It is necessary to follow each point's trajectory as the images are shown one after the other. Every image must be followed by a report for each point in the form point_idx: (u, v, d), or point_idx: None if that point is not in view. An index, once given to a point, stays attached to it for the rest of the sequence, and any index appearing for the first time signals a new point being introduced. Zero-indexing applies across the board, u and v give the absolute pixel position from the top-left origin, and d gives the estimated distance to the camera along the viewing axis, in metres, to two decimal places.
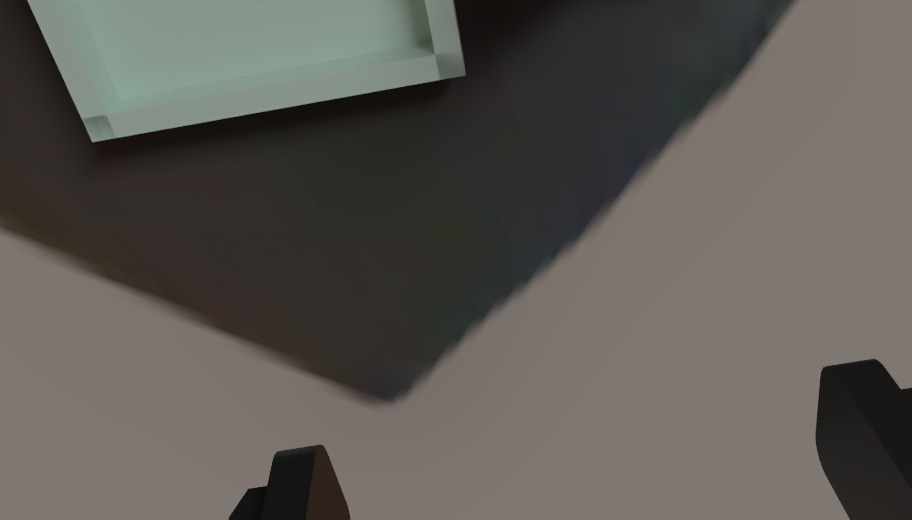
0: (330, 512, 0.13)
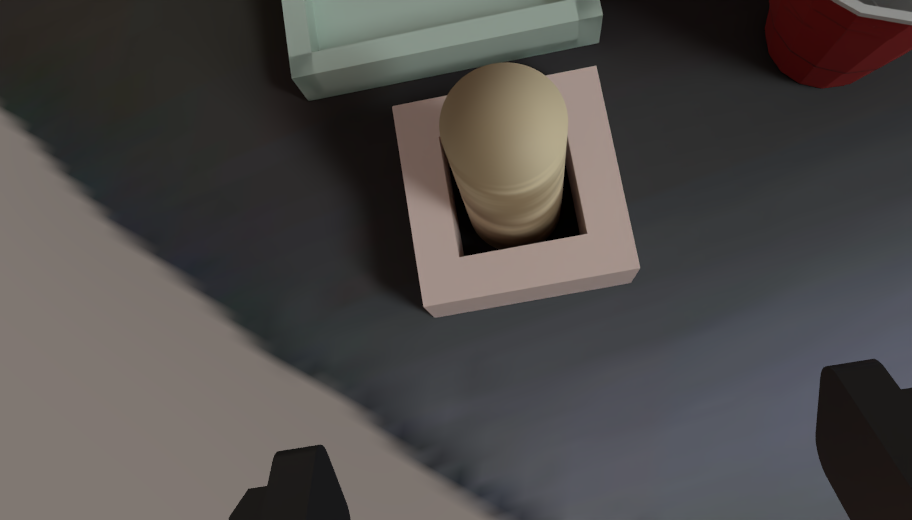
0: (330, 512, 0.13)
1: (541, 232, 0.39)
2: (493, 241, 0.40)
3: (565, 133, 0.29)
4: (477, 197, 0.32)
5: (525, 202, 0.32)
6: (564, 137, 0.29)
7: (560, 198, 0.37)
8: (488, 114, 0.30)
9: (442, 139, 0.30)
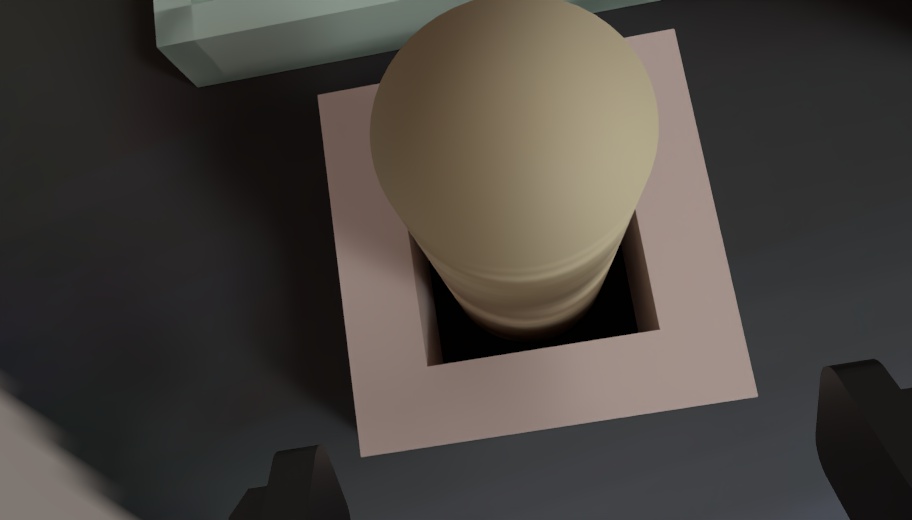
0: (330, 512, 0.13)
1: (573, 318, 0.22)
2: (489, 328, 0.23)
3: (652, 151, 0.13)
4: (455, 278, 0.16)
5: (554, 289, 0.16)
6: (650, 161, 0.13)
7: None
8: (481, 106, 0.13)
9: (375, 161, 0.13)
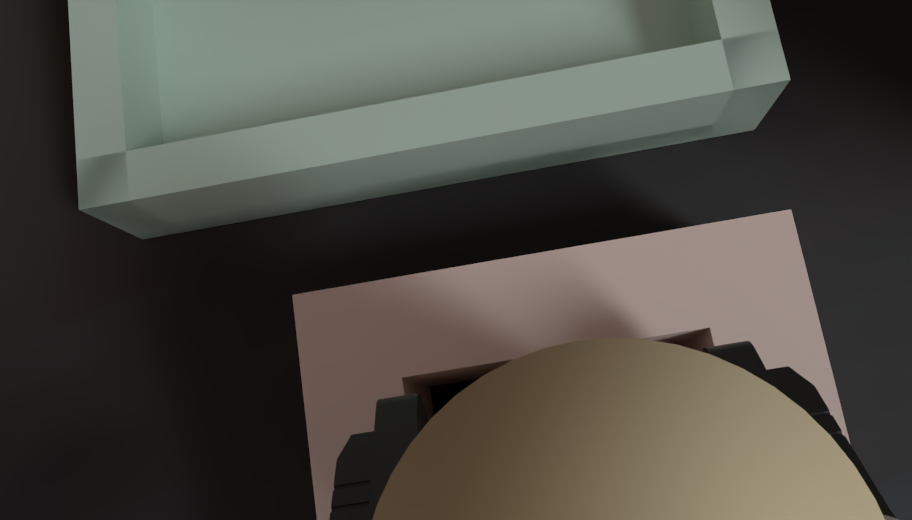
0: None
1: None
2: None
3: None
4: None
5: None
6: None
7: None
8: None
9: None
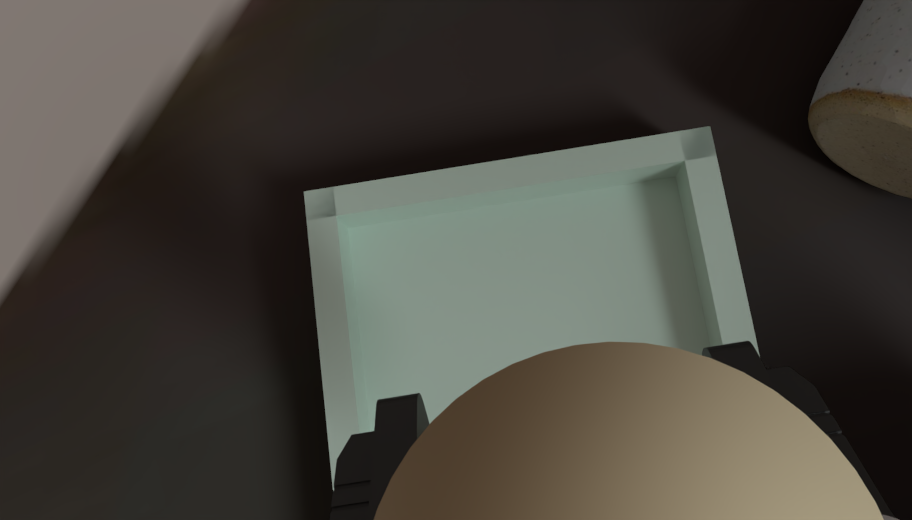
0: None
1: None
2: None
3: None
4: None
5: None
6: None
7: None
8: None
9: None
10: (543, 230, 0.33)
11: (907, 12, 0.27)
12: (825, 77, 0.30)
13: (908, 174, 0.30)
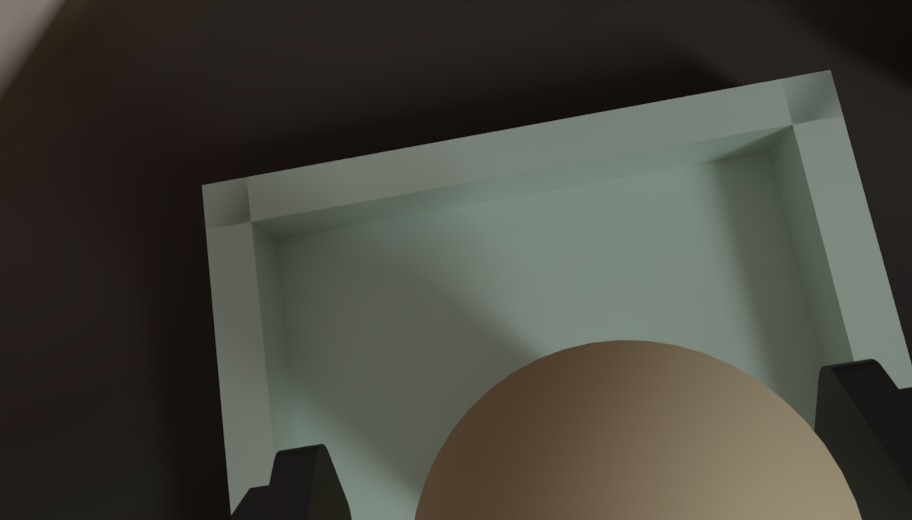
0: (332, 511, 0.13)
1: None
2: None
3: None
4: None
5: None
6: None
7: None
8: None
9: None
10: (570, 238, 0.21)
11: None
12: None
13: None
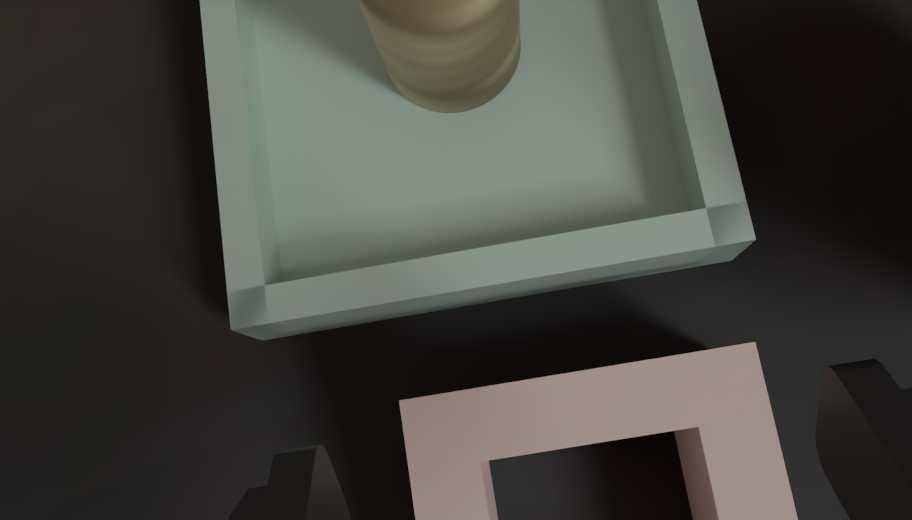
0: (330, 512, 0.13)
1: (487, 69, 0.25)
2: (416, 90, 0.26)
3: None
4: None
5: None
6: None
7: (514, 4, 0.24)
8: None
9: None
10: None
11: None
12: None
13: None
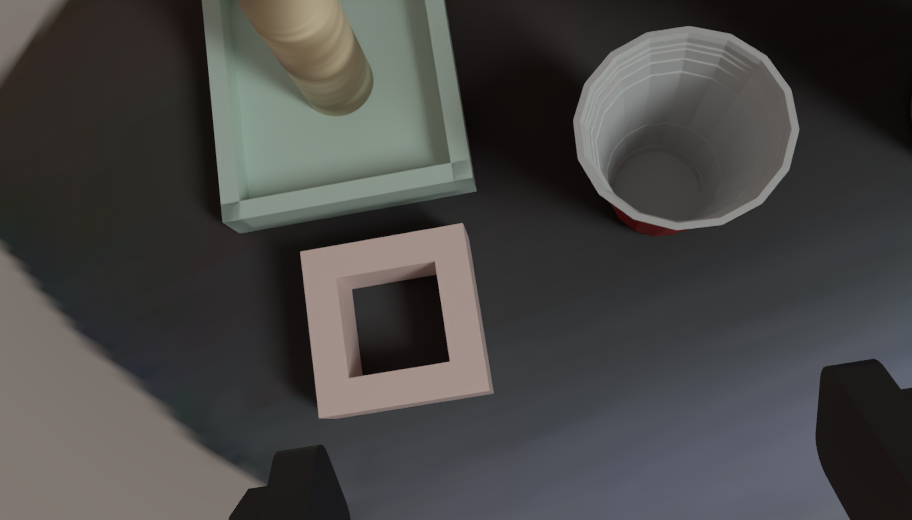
0: (330, 512, 0.13)
1: (348, 95, 0.51)
2: (316, 105, 0.52)
3: None
4: (274, 48, 0.44)
5: (309, 51, 0.44)
6: None
7: (356, 64, 0.49)
8: None
9: None
10: None
11: None
12: None
13: None
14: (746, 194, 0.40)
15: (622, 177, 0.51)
